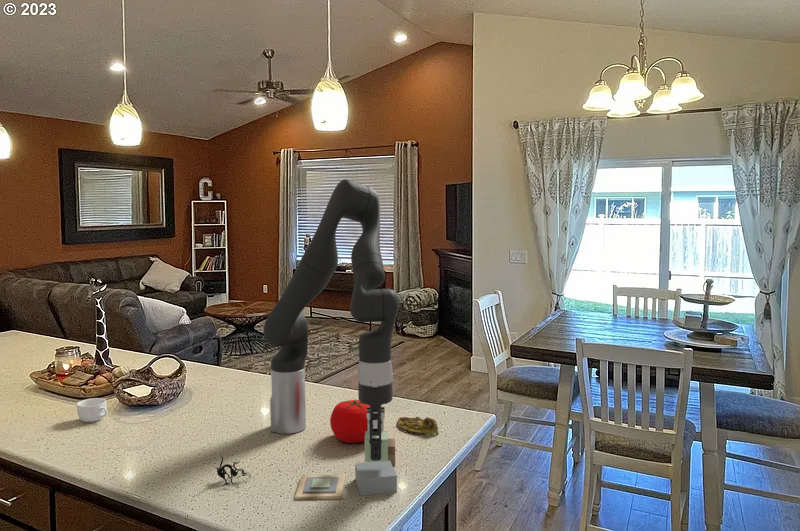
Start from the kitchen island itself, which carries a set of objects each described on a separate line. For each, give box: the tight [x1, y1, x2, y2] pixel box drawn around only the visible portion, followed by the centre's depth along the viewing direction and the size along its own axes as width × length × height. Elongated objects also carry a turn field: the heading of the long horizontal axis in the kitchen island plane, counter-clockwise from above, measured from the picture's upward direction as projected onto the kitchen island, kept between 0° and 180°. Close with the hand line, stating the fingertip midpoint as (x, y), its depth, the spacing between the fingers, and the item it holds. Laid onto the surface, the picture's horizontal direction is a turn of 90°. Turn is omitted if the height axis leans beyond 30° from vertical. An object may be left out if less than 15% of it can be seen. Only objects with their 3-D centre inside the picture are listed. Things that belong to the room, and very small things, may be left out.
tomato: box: [329, 398, 370, 444], centre depth 157 cm, size 14×13×10 cm
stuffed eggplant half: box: [396, 416, 440, 437], centre depth 165 cm, size 9×5×15 cm
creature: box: [215, 456, 252, 488], centre depth 133 cm, size 8×5×8 cm
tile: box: [294, 474, 346, 500], centre depth 129 cm, size 10×10×1 cm
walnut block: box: [388, 438, 396, 467], centre depth 142 cm, size 5×5×5 cm
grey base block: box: [354, 460, 398, 497], centre depth 131 cm, size 8×8×4 cm
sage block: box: [364, 430, 389, 463], centre depth 130 cm, size 5×5×5 cm
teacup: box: [76, 397, 108, 423], centre depth 172 cm, size 10×8×5 cm
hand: (376, 454), depth 130 cm, fingers closed on sage block, 5 cm apart
